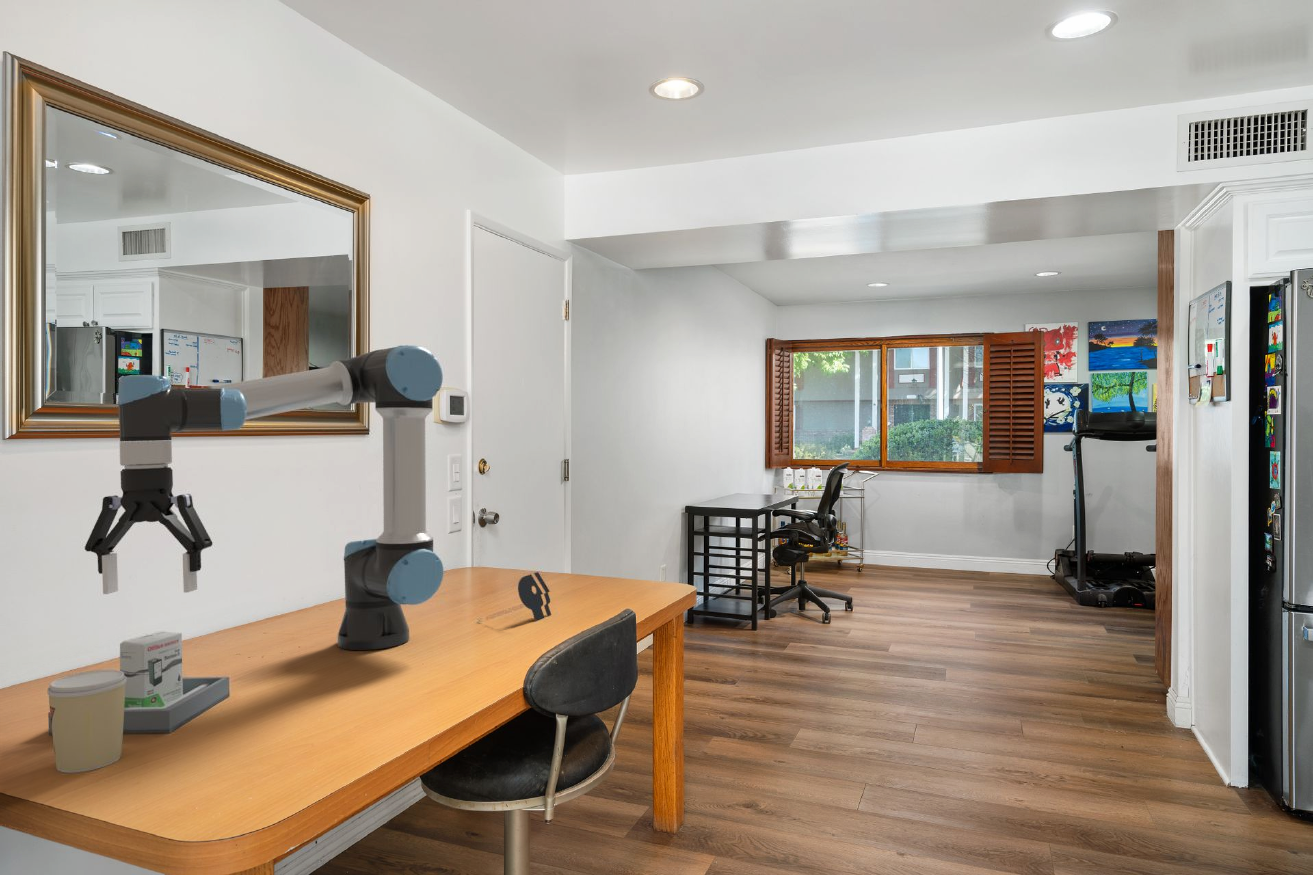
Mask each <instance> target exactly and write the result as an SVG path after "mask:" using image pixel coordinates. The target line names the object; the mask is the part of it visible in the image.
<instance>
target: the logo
mask: <svg viewBox="0 0 1313 875" xmlns="http://www.w3.org/2000/svg"><path fill="white" fill-rule="evenodd" d="M533 575H534V576H535V578H536V579H537V581H538V582H539V584H540V586H541V588H542V589H543V591H544V593H543V591H542V590H541V588H540V586H539V584H538V583H537V582H536V580H535V578H534V577H533ZM533 575H532V573H530V574H527V575H523V576H522V577H520V579H519V581H518V585H517V592H518V596H519V599H520V602H521V604H519V605H515V606H513V607H510V608H507V609H503V610H500V611H498V612H495V613H493V614H490V615H487V618H486V621H488V620H490V619H491V620H492V619H494V618H496V617H500V616H503V615H505V614H508V613H511V612H515V611H517V610H521V609H523V608H525V607H526V608H527V609H528V610H531V612H532V615H533V616H532V617H533V619H534V621H535V622H539V621H540V620H543V619H545V615H544V612H543V609H542V607H544V609H545V613H546V616H547V617H551V616H552V613H551V610H550V606H549V604H550V603H551V598H550V596H549V593H550V592H551V591H550V589H549V587H548V586H547V583H545V581H544V579H543V578H542V576H541V574H540V573H539V571H537V572H533ZM533 587H534V588H535V593H534V592H533V590H532V588H533ZM542 596H544V599H545V604H544V600H543V597H542ZM476 620H477V623H482V620H483V617H481V618H477V619H476Z"/></svg>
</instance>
